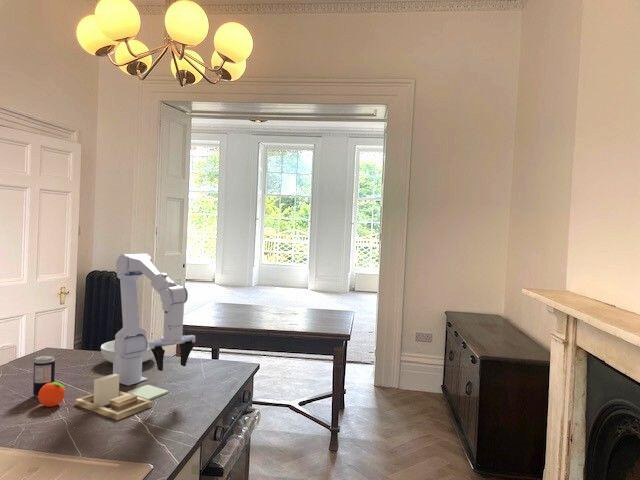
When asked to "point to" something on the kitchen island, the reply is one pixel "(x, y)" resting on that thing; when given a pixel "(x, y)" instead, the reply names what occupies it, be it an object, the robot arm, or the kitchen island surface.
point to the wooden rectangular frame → (87, 404)
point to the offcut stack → (123, 402)
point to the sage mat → (148, 392)
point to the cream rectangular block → (106, 389)
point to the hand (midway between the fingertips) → (171, 367)
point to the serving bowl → (110, 354)
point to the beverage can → (43, 372)
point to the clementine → (51, 394)
